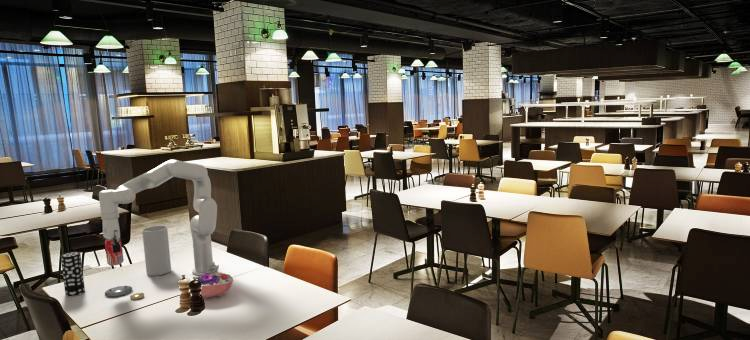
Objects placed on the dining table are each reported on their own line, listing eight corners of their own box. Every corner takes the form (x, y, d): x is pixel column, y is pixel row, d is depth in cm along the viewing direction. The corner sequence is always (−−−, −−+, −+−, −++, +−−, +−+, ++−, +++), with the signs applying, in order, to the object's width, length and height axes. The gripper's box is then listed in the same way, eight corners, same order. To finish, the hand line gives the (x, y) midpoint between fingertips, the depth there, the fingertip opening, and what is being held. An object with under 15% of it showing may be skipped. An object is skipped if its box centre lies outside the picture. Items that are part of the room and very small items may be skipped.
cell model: (223, 304, 220) (221, 280, 219) (184, 301, 224) (182, 278, 223) (240, 289, 237) (239, 267, 235) (204, 288, 241) (202, 266, 239)
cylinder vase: (146, 270, 269) (142, 227, 265) (170, 267, 274) (166, 224, 271) (146, 277, 258) (141, 232, 254) (171, 273, 263) (167, 229, 259)
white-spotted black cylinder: (61, 294, 238) (56, 255, 235) (78, 288, 245) (74, 251, 242) (71, 297, 234) (66, 258, 231) (88, 291, 241) (83, 253, 238)
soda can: (126, 261, 239) (124, 236, 238) (117, 266, 232) (114, 240, 230) (113, 261, 240) (110, 236, 238) (104, 266, 233) (101, 240, 231)
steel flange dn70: (137, 288, 243) (137, 285, 242) (120, 298, 231) (119, 295, 231) (117, 287, 245) (117, 284, 245) (99, 296, 234) (98, 293, 234)
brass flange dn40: (147, 295, 233) (146, 293, 233) (138, 300, 228) (138, 298, 227) (136, 294, 235) (136, 292, 235) (127, 299, 229) (127, 297, 229)
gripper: (95, 214, 236) (99, 249, 238) (108, 219, 224) (112, 256, 227) (112, 211, 241) (115, 245, 244) (125, 216, 229) (128, 252, 232)
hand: (114, 250), depth 235 cm, fingers closed on soda can, 7 cm apart
